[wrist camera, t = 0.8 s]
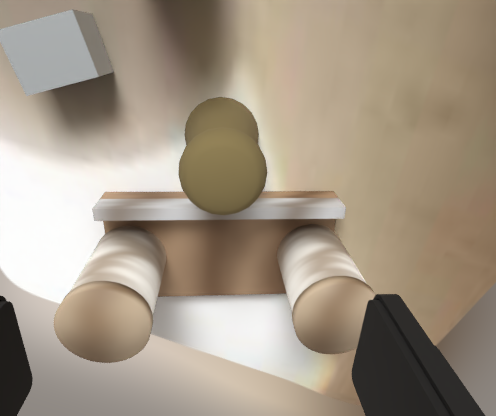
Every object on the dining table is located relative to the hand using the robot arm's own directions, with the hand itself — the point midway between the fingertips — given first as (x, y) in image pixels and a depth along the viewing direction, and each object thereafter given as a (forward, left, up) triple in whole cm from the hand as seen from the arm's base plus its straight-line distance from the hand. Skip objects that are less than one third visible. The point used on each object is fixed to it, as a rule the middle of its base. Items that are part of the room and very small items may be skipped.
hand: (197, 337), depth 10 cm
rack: (-1, +10, -22) cm, 24 cm away
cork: (-1, 0, -23) cm, 23 cm away
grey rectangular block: (+10, -6, -23) cm, 25 cm away
